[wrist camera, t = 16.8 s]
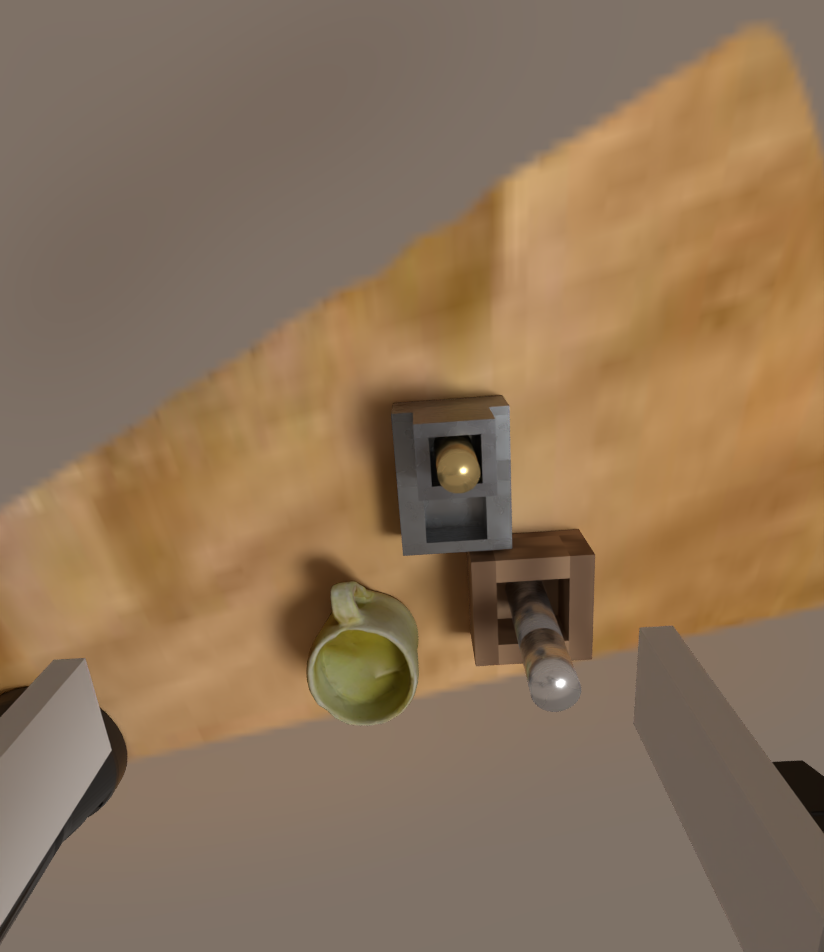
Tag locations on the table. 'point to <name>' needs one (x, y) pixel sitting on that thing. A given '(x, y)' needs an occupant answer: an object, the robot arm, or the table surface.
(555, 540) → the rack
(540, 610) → the brushed metal rod
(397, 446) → the block
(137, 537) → the table surface
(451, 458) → the yellow capsule
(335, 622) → the mug
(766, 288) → the table surface
